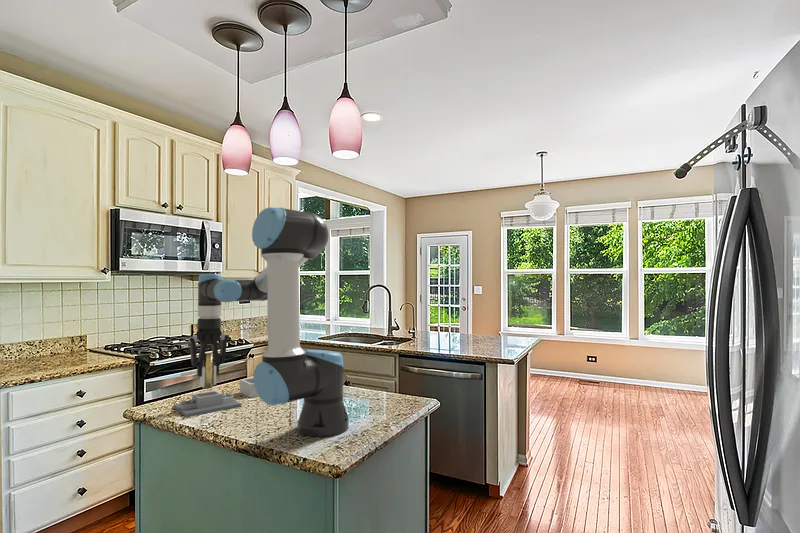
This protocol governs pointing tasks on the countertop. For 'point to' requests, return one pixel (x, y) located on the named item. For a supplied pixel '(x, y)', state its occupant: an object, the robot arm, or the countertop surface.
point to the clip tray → (248, 387)
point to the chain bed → (207, 403)
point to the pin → (208, 370)
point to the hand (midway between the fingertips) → (207, 384)
